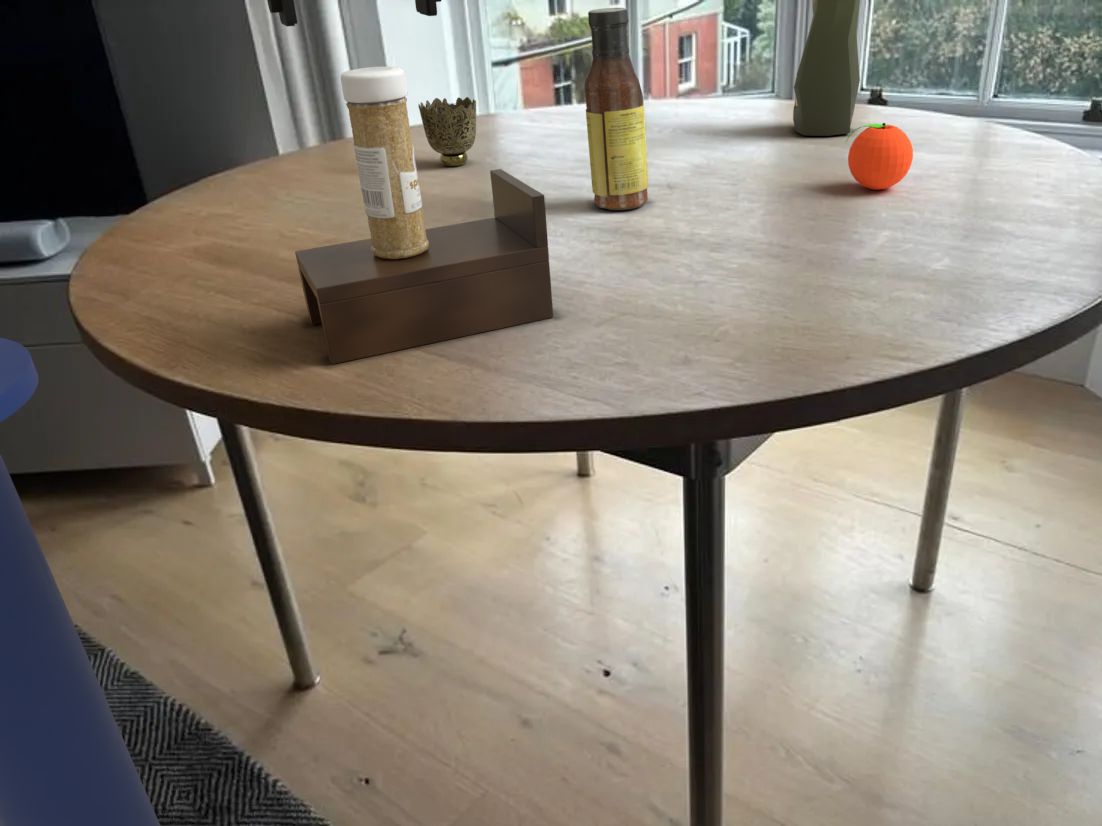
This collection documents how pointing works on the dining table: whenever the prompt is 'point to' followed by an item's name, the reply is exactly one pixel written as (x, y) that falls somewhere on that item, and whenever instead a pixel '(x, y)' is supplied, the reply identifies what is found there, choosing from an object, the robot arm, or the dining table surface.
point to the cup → (450, 128)
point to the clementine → (880, 156)
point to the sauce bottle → (615, 116)
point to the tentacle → (828, 70)
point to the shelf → (434, 281)
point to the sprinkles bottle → (386, 160)
